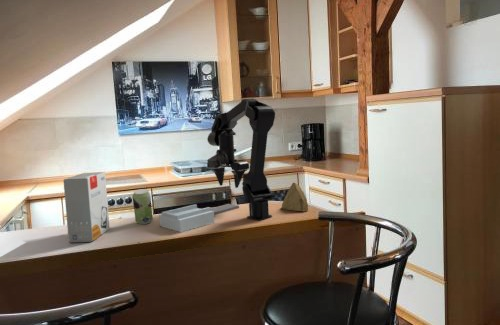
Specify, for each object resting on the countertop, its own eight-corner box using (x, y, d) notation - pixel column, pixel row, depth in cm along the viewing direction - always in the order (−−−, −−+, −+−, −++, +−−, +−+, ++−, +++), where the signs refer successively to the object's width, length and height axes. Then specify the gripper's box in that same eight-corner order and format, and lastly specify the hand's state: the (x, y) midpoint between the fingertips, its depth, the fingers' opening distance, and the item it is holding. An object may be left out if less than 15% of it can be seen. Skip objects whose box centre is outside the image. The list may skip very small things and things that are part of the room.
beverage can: (152, 219, 152) (150, 187, 151) (153, 224, 145) (150, 190, 144) (135, 221, 151) (132, 189, 149) (134, 226, 144) (131, 192, 142)
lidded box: (214, 222, 143) (213, 208, 143) (180, 232, 134) (179, 216, 133) (193, 217, 152) (192, 203, 151) (160, 226, 142) (159, 211, 142)
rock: (316, 205, 152) (307, 196, 161) (302, 188, 149) (294, 180, 159) (293, 224, 152) (286, 214, 162) (279, 207, 150) (273, 198, 159)
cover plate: (239, 209, 164) (239, 205, 163) (207, 218, 152) (207, 214, 152) (228, 207, 168) (228, 203, 168) (197, 215, 157) (197, 212, 157)
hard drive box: (92, 242, 128) (86, 178, 125) (68, 243, 128) (61, 179, 125) (110, 228, 143) (105, 171, 141) (88, 229, 143) (82, 172, 141)
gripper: (195, 148, 162) (197, 187, 164) (226, 149, 149) (229, 192, 151) (217, 145, 170) (219, 183, 172) (249, 146, 157) (251, 187, 159)
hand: (228, 186), depth 163 cm, fingers open, 9 cm apart
